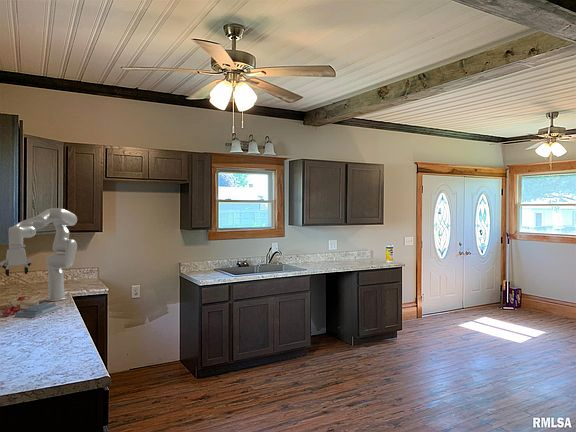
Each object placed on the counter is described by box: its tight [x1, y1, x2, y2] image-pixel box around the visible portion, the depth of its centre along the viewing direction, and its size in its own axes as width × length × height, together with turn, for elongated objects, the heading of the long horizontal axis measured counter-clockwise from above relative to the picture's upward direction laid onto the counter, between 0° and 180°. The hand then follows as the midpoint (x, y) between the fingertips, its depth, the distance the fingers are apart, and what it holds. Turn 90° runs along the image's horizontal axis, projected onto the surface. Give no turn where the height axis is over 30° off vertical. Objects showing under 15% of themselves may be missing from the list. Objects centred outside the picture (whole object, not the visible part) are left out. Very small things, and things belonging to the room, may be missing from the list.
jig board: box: [14, 301, 63, 318], centre depth 266 cm, size 23×14×4 cm, turn 171°
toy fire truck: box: [2, 296, 26, 317], centre depth 261 cm, size 3×14×10 cm, turn 168°
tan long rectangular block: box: [19, 300, 40, 310], centre depth 275 cm, size 4×10×4 cm, turn 80°
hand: (16, 274), depth 266 cm, fingers open, 9 cm apart
